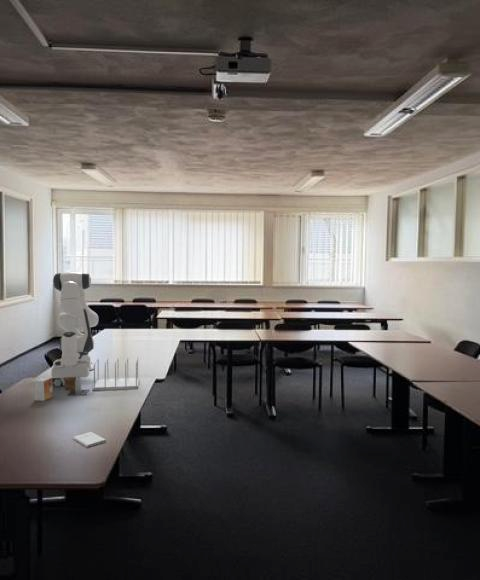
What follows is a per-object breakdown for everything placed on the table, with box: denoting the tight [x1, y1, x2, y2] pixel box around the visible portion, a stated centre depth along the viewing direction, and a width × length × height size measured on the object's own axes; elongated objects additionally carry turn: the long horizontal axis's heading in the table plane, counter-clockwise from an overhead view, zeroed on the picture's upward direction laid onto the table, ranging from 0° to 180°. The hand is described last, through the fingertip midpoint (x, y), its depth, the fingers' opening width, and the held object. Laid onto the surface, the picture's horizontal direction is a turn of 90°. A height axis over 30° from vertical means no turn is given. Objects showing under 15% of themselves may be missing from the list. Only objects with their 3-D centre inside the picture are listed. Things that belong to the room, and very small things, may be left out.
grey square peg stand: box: [66, 380, 91, 397], centre depth 259 cm, size 10×10×7 cm
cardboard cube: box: [64, 377, 77, 391], centre depth 267 cm, size 5×5×7 cm
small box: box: [34, 376, 54, 402], centre depth 249 cm, size 8×6×10 cm
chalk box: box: [51, 377, 65, 388], centre depth 276 cm, size 9×9×15 cm
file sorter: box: [92, 356, 140, 391], centre depth 274 cm, size 25×17×16 cm
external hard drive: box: [72, 431, 107, 448], centre depth 193 cm, size 2×8×12 cm
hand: (70, 385), depth 268 cm, fingers closed on cardboard cube, 5 cm apart
